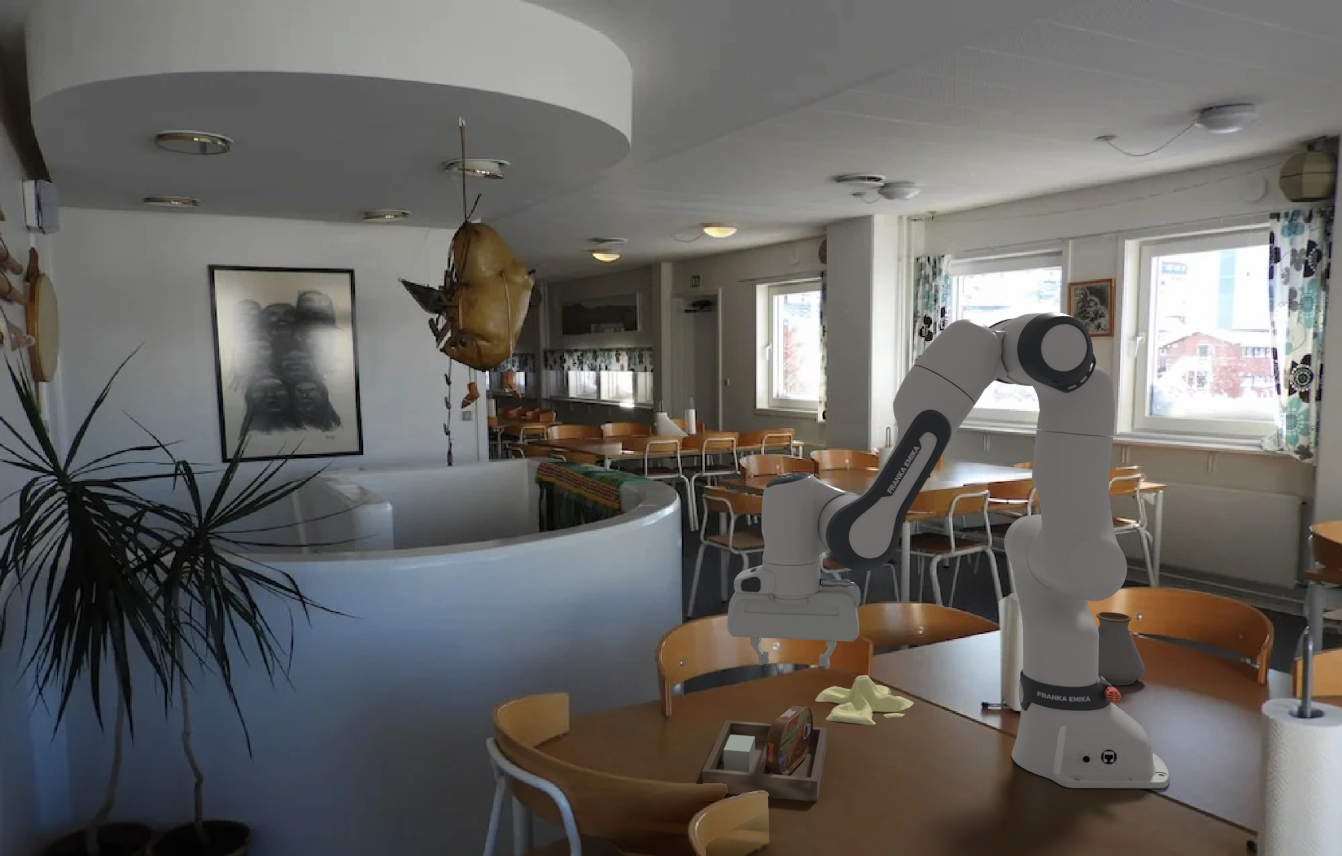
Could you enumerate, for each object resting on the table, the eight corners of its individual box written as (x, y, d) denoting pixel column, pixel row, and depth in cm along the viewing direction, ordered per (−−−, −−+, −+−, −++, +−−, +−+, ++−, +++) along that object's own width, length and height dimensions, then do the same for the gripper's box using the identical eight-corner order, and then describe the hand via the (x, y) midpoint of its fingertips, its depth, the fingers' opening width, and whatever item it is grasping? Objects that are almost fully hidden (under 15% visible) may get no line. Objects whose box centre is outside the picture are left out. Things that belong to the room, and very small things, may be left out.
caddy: (827, 751, 151) (826, 727, 150) (817, 808, 131) (817, 781, 131) (726, 743, 155) (726, 720, 155) (702, 797, 135) (702, 771, 135)
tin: (778, 784, 135) (784, 729, 135) (759, 778, 136) (764, 723, 136) (812, 752, 148) (817, 702, 148) (794, 747, 150) (799, 697, 149)
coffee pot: (1115, 666, 190) (1116, 596, 189) (1158, 685, 179) (1159, 610, 178) (1028, 677, 184) (1028, 605, 183) (1066, 697, 173) (1067, 620, 172)
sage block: (755, 757, 146) (754, 736, 146) (749, 773, 141) (749, 751, 140) (730, 755, 147) (730, 734, 147) (724, 771, 142) (723, 749, 141)
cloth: (838, 733, 160) (838, 699, 159) (796, 697, 178) (796, 666, 177) (950, 718, 165) (950, 685, 165) (899, 685, 183) (899, 655, 183)
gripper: (860, 574, 141) (862, 662, 142) (730, 572, 146) (733, 656, 146) (859, 584, 135) (861, 675, 135) (723, 581, 139) (726, 669, 140)
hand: (793, 665), depth 141 cm, fingers open, 8 cm apart
